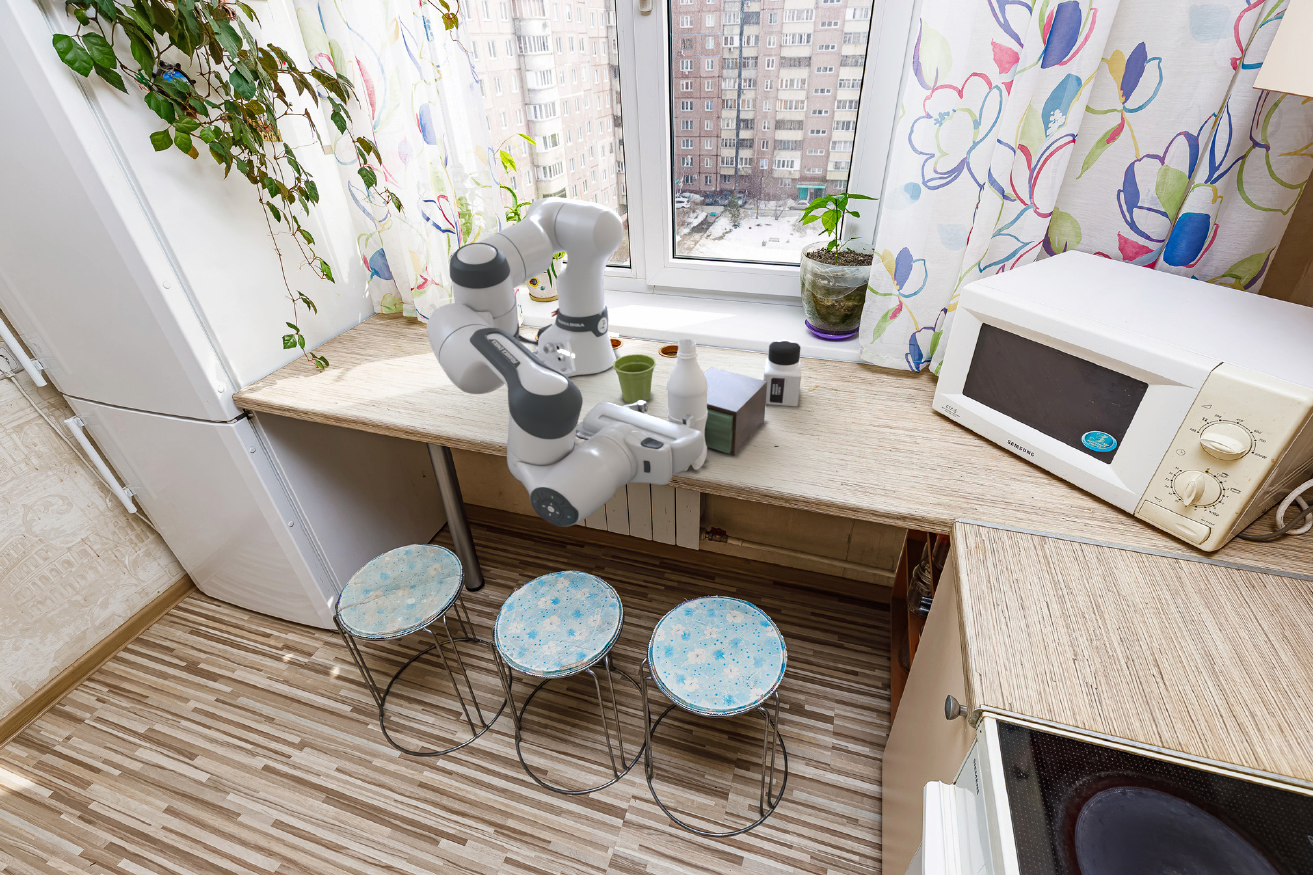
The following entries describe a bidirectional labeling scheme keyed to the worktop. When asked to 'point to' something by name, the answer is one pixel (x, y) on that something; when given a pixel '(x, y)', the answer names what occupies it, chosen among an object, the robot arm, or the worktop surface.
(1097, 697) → the worktop surface
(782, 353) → the container
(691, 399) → the water bottle
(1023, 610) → the worktop surface
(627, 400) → the plant pot
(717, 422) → the drawer
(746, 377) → the cabinet
